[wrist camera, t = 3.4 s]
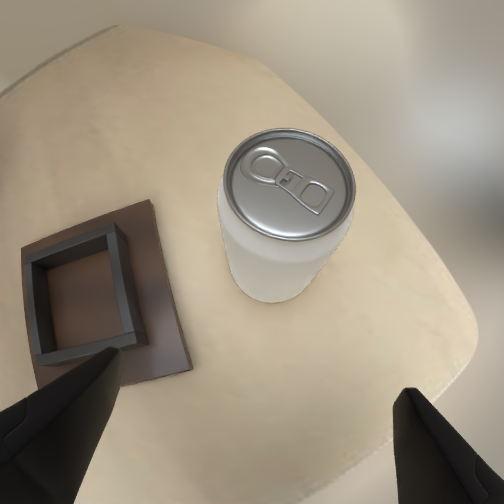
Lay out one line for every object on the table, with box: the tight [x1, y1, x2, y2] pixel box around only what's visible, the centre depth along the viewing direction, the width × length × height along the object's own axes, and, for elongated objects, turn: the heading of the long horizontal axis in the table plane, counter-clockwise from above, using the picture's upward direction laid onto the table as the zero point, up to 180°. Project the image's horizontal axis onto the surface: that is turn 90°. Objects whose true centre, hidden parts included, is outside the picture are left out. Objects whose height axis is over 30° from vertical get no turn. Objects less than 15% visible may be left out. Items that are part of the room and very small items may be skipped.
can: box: [217, 128, 356, 303], centre depth 18 cm, size 6×6×12 cm
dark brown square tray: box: [21, 199, 193, 390], centre depth 21 cm, size 14×14×4 cm
